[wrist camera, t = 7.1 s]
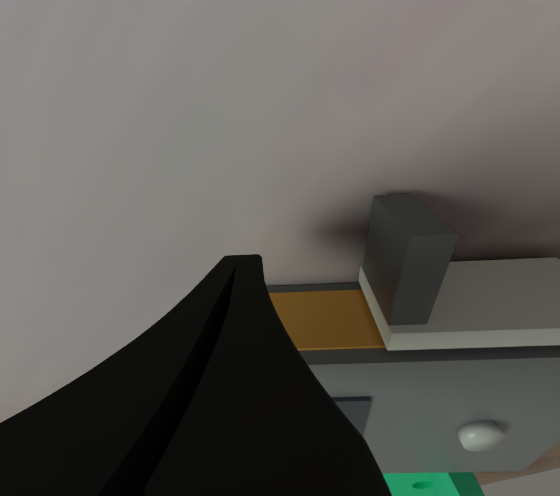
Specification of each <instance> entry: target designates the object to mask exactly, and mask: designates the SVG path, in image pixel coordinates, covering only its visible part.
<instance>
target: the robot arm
mask: <svg viewBox="0 0 560 496" xmlns="http://www.w3.org/2000/svg"><path fill="white" fill-rule="evenodd" d="M0 496H392V494H391V492H390V489H389V487H388V485H387V483H386V481H385V478H384V476H383V474H382V472H381V470H380V468H379V466H378V464H377V462H376V460H375V458H374V456H373V454H372V452H371V450H370V448H369V446H368V444H367V442H366V440H365V439H364V438H363V436H362V435H361V434H360V433H359V431H358V430H357V429H356V428H355V427H354V425H353V424H352V423H351V422H350V421H349V419H348V418H347V417H346V416H345V414H344V413H343V412H342V411H341V409H340V408H339V407H338V406H337V404H336V403H335V402H334V401H333V399H332V398H331V397H330V395H329V394H328V393H327V391H326V390H325V389H324V387H323V386H322V385H321V383H320V382H319V381H318V379H317V378H316V377H315V375H314V374H313V372H312V371H311V369H310V368H309V366H308V365H307V363H306V362H305V360H304V359H303V357H302V356H301V354H300V353H299V351H298V350H297V348H296V347H295V345H294V343H293V342H292V340H291V338H290V336H289V335H288V333H287V331H286V329H285V328H284V326H283V324H282V322H281V320H280V318H279V316H278V314H277V312H276V310H275V307H274V305H273V303H272V301H271V298H270V296H269V293H268V290H267V287H266V284H265V281H264V273H263V264H262V257H261V256H260V255H259V254H254V255H232V256H224V257H223V258H222V259H221V260H220V261H219V263H218V264H217V265H216V266H215V267H214V268H213V269H212V270H211V271H210V272H209V273H208V274H207V275H206V276H205V277H204V279H203V280H202V281H201V282H200V283H199V284H198V285H197V286H196V287H195V288H194V289H193V290H192V291H191V292H190V293H189V294H188V295H187V296H186V297H184V298H183V299H182V300H181V301H180V302H179V303H178V304H177V305H176V306H175V307H174V308H173V309H172V310H171V311H169V312H168V313H167V314H166V315H165V316H164V317H162V318H161V319H160V320H159V321H158V322H156V323H155V324H154V325H153V326H151V327H150V328H149V329H147V330H146V331H145V332H144V333H142V334H141V335H140V336H139V337H137V338H136V339H134V340H133V341H132V342H130V343H129V344H127V345H126V346H125V347H123V348H122V349H120V350H119V351H117V352H116V353H114V354H113V355H112V356H110V357H109V358H107V359H106V360H104V361H103V362H102V363H100V364H99V365H97V366H96V367H94V368H93V369H91V370H90V371H88V372H86V373H85V374H83V375H82V376H80V377H78V378H77V379H75V380H74V381H72V382H71V383H69V384H67V385H66V386H64V387H62V388H61V389H59V390H57V391H56V392H54V393H52V394H51V395H49V396H47V397H46V398H44V399H42V400H41V401H39V402H37V403H35V404H34V405H32V406H30V407H29V408H27V409H25V410H23V411H21V412H20V413H18V414H16V415H14V416H12V417H11V418H9V419H7V420H5V421H3V422H1V423H0Z"/></svg>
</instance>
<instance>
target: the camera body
mask: <svg viewBox="0 0 560 496" xmlns="http://www.w3.org/2000/svg"><path fill="white" fill-rule="evenodd" d="M266 287H267V290H268V293H269V296H270V298H271V301H272V303H273V305H274V307H275V310H276V312H277V314H278V316H279V318H280V320H281V322H282V324H283V326H284V328H285V329H286V331H287V333H288V335H289V336H290V338H291V340H292V342H293V343H294V345H295V347H296V348H297V350H298V351H299V353H300V354H301V356H302V357H303V359H304V360H305V362H306V363H307V365H308V366H309V368H310V369H311V371H312V372H313V374H314V375H315V377H316V378H317V379H318V381H319V382H320V383H321V385H322V386H323V387H324V389H325V390H326V391H327V393H328V394H329V395H330V397H331V398H332V399H333V401H334V402H335V403H336V404H337V406H338V407H339V408H340V409H341V411H342V412H343V413H344V414H345V416H346V417H347V418H348V419H349V421H350V422H351V423H352V424H353V425H354V427H355V428H356V429H357V430H358V431H359V433H360V434H361V435H362V436H363V438H364V439H365V440H366V442H367V444H368V446H369V448H370V450H371V452H372V454H373V456H374V458H375V460H376V462H377V464H378V466H379V468H380V470H381V472H382V474H388V473H449V472H510V471H524V470H525V469H526V468H527V467H528V466H530V465H531V464H532V463H533V462H534V461H536V460H537V459H538V458H539V457H540V456H542V455H543V454H544V453H545V452H546V451H548V450H549V449H550V448H551V447H552V446H554V445H555V444H556V443H557V442H558V441H560V345H548V346H516V347H484V348H452V349H420V350H388V351H387V349H386V346H385V344H384V341H383V339H382V336H381V334H380V332H379V329H378V327H377V324H376V322H375V319H374V317H373V315H372V312H371V310H370V307H369V305H368V302H367V300H366V298H365V295H364V293H363V290H362V288H361V285H360V283H337V284H312V285H286V286H266Z"/></svg>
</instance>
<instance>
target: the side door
mask: <svg viewBox="0 0 560 496" xmlns="http://www.w3.org/2000/svg"><path fill="white" fill-rule="evenodd" d="M459 236H460V234H459V233H458V232H457V231H455V230H454V229H453V228H451V227H450V226H449V225H448V224H446V223H445V222H444V221H443V220H441V219H440V218H439V217H438V216H436V215H435V214H434V213H433V212H431V211H430V210H429V209H428V208H426V207H425V206H424V205H423V204H421V203H420V202H419V201H417V200H416V199H415V198H414V197H412V196H411V195H410V194H396V195H376V196H374V197H373V204H372V210H371V217H370V224H369V230H368V237H367V244H366V251H365V257H364V264H363V266H360V273H359V280H358V281H359V283H360V285H361V288H362V290H363V293H364V295H365V298H366V300H367V302H368V305H369V307H370V310H371V312H372V315H373V317H374V319H375V322H376V324H377V327H378V329H379V332H380V334H381V336H382V339H383V341H384V344H385V346H386V349H387V351H388V350H420V349H452V348H484V347H516V346H548V345H560V259H558V258H556V257H554V258H530V259H506V260H483V261H459V262H450V260H451V257H452V255H453V252H454V249H455V246H456V244H457V241H458V238H459Z"/></svg>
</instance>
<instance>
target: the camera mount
mask: <svg viewBox="0 0 560 496" xmlns="http://www.w3.org/2000/svg"><path fill="white" fill-rule="evenodd" d="M383 476H384V478H385V481H386V483H387V485H388V487H389V489H390V492H391V494H392V495H393V496H484V494H483V491H482V490H481V487H480V485H479V484H478V482H477V480H476V478H475V476H474V474H473V473H472V472H449V473H388V474H383Z"/></svg>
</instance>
